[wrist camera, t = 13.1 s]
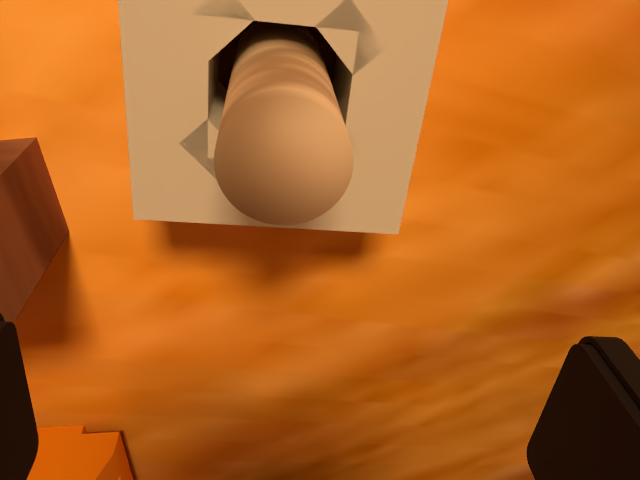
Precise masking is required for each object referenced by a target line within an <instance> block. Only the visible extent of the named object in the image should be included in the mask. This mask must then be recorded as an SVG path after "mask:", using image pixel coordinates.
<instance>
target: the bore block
mask: <svg viewBox="0 0 640 480" xmlns="http://www.w3.org/2000/svg"><path fill="white" fill-rule="evenodd" d="M447 5H448V0H118V7H119V22H120V36H121V50H122V64H123V78H124V92H125V106H126V120H127V134H128V148H129V162H130V176H131V191H132V205H133V219H138V220H155V221H173V222H191V223H208V224H226V225H243V226H261V227H278V228H296V229H313V230H331V231H348V232H366V233H383V234H399V229H400V224H401V220H402V215H403V210H404V206H405V201H406V196H407V192H408V187H409V182H410V178H411V173H412V168H413V164H414V159H415V154H416V150H417V145H418V140H419V136H420V131H421V126H422V122H423V117H424V112H425V108H426V103H427V98H428V94H429V89H430V84H431V80H432V75H433V70H434V66H435V61H436V56H437V52H438V47H439V42H440V38H441V33H442V28H443V24H444V19H445V14H446V10H447ZM252 21H262V22H272V23H282V24H292V25H301V26H311V27H316V28H317V29H318V30H319V31H320V33H321V34H322V35H323V37H324V38H325V39H326V41H327V42H328V43H329V44H330V46H331V47H332V48H333V50H334V51H335V52H336V54H337V56H336V64H335V72H334V80H333V90H334V93H335V96H336V99H337V102H338V105H339V108H340V111H341V114H342V117H343V120H344V123H345V126H346V129H347V132H348V135H349V138H350V142H351V145H352V149H353V157H354V165H353V173H352V177H351V180H350V183H349V185H348V187H347V189H346V191H345V193H344V194H343V196H342V197H341V199H340V200H339V201H338V202H337V203H336V204H335V205H334V206H333V207H332V208H331V209H330V210H328V211H327V212H326V213H324V214H323V215H321V216H319V217H317V218H315V219H313V220H310V221H308V222H305V223H300V224H296V225H272V224H267V223H263V222H260V221H257V220H254V219H252V218H250V217H248V216H246V215H245V214H243V213H242V212H240V211H239V210H238V209H237V208H235V207H234V206H233V205H232V204H231V203H230V202H229V201H228V199H227V198H226V197H225V195H224V194H223V192H222V190H221V188H220V186H219V184H218V182H217V179H216V175H215V170H214V151H215V146H216V142H217V137H218V133H219V128H220V123H221V119H222V114H223V109H224V105H225V100H226V95H227V90H226V89H225V88H224V87H223V86H222V84H221V83H220V82H219V51H220V50H221V49H222V48H224V47H225V46H226V45H227V44H228V43H229V42H230V41H231V40H232V39H234V38H235V37H236V36H237V35H238V34H239V33H240V32H241V31H242V30H244V29H245V28H246V27H247V26H248V25H249V24H250V23H251V22H252Z"/></svg>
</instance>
